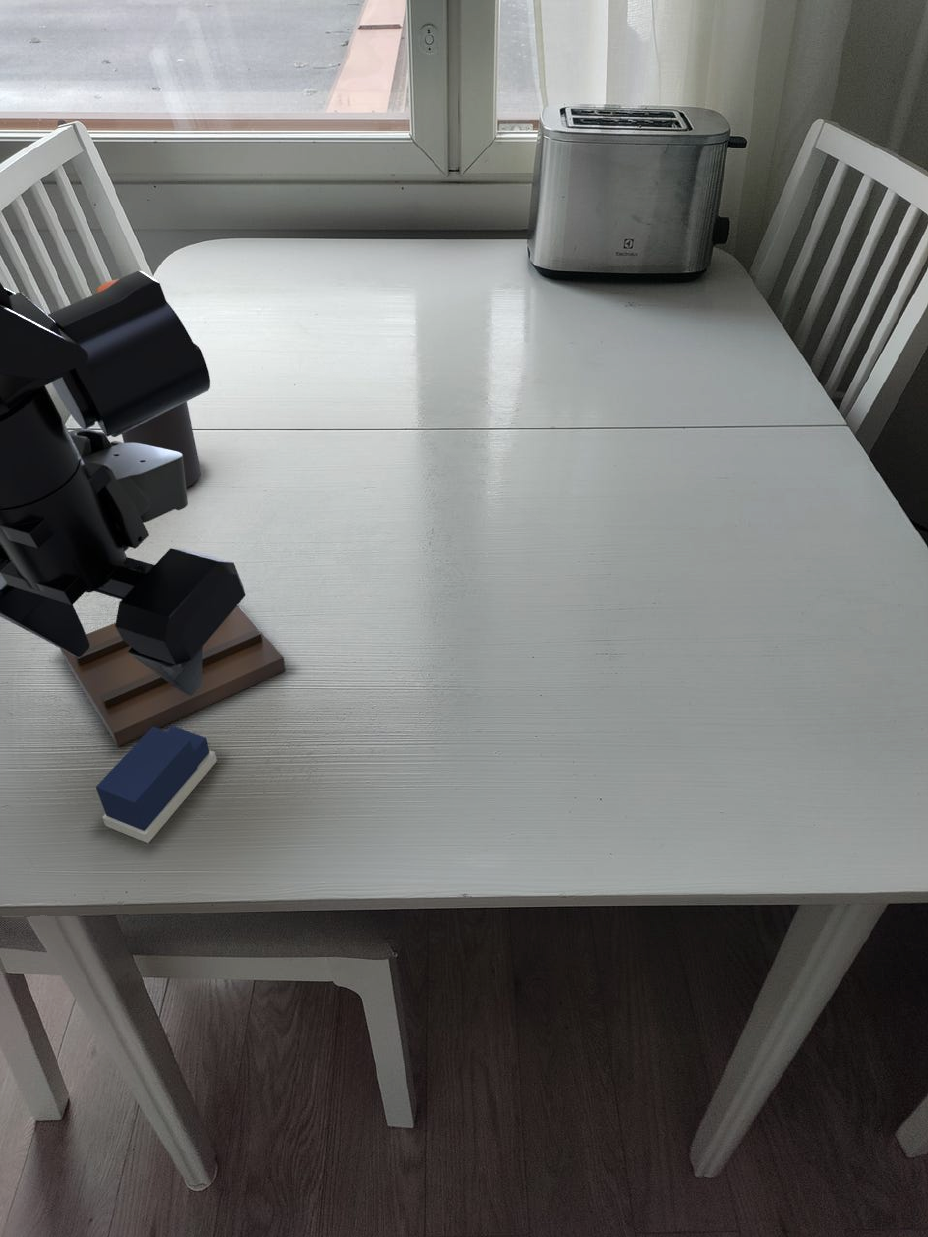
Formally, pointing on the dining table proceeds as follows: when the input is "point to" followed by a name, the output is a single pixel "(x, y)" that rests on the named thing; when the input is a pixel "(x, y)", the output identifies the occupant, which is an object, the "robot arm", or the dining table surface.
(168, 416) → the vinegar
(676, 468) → the dining table surface
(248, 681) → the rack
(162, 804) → the stepped navy block
